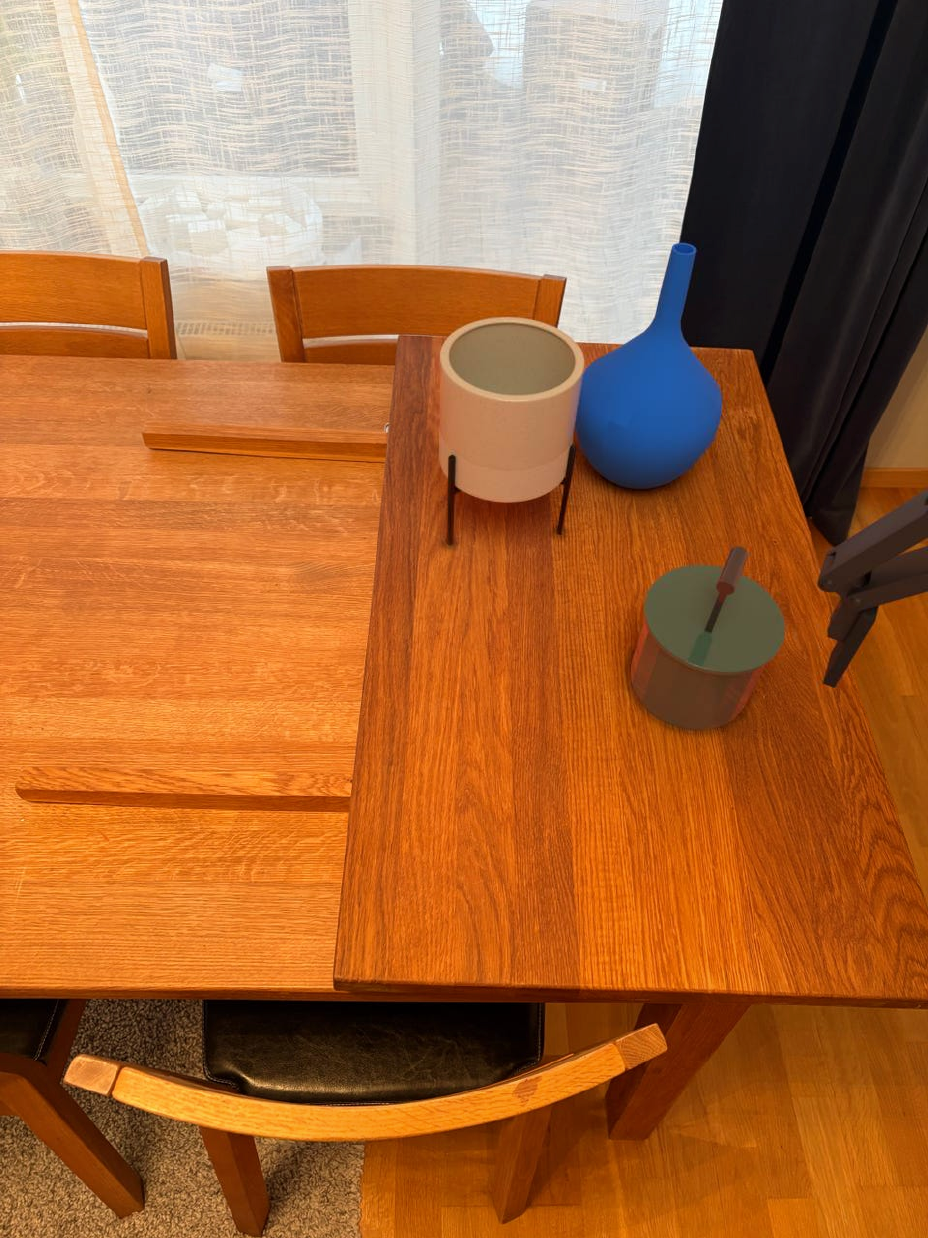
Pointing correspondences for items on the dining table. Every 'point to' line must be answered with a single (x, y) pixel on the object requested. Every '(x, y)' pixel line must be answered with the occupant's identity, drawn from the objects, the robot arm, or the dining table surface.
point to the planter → (508, 411)
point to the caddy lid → (715, 617)
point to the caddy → (686, 689)
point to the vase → (650, 396)
